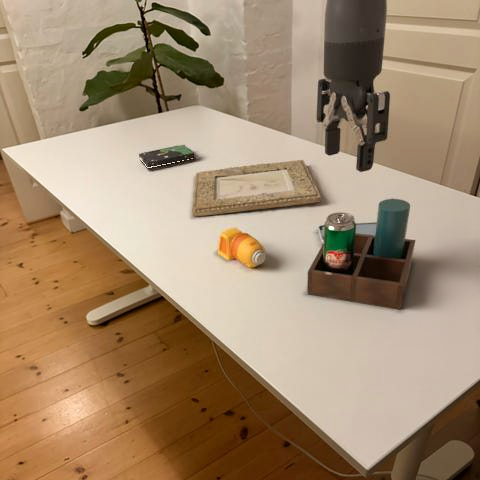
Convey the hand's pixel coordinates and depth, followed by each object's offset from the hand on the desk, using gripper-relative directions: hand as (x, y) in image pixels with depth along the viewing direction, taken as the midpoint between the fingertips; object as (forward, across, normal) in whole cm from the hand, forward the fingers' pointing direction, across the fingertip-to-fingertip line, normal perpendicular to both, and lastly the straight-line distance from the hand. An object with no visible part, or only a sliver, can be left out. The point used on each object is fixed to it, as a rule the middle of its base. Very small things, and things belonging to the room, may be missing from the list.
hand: (347, 161), depth 69 cm
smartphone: (+22, +13, -12) cm, 28 cm away
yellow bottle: (+22, +16, +12) cm, 30 cm away
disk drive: (+22, +82, +10) cm, 85 cm away
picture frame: (+22, +47, -4) cm, 52 cm away
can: (+21, 0, -9) cm, 23 cm away
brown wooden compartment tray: (+22, 0, -4) cm, 22 cm away
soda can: (+21, 0, +1) cm, 21 cm away
